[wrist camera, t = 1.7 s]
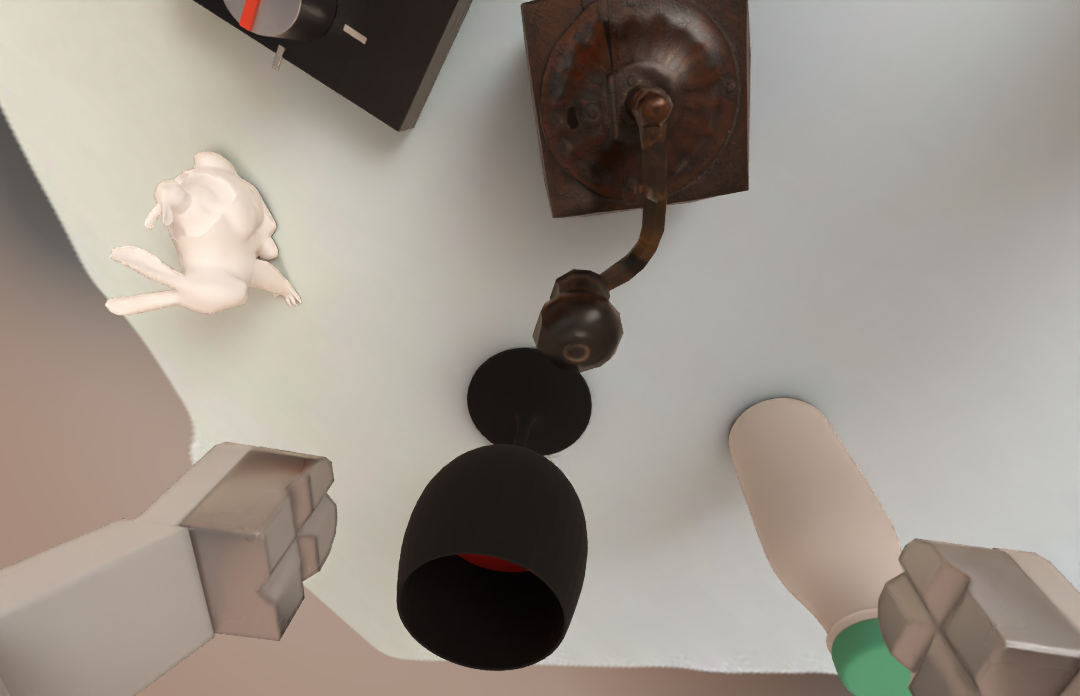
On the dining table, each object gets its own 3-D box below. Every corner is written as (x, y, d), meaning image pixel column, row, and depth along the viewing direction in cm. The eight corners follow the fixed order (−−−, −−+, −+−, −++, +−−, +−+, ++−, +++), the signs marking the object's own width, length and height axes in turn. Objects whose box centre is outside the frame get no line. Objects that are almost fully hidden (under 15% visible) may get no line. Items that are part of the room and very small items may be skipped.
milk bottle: (707, 430, 45) (775, 666, 27) (791, 376, 42) (931, 600, 24) (763, 488, 46) (862, 744, 29) (847, 440, 44) (1015, 691, 26)
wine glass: (471, 337, 43) (377, 521, 25) (602, 357, 43) (601, 559, 25) (464, 444, 48) (380, 662, 30) (582, 463, 47) (569, 696, 29)
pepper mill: (524, 19, 33) (449, -37, 17) (713, -20, 31) (828, -125, 15) (562, 264, 40) (534, 391, 24) (720, 244, 38) (807, 366, 22)
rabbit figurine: (304, 305, 43) (229, 361, 35) (217, 309, 44) (123, 364, 36) (257, 145, 38) (156, 164, 30) (160, 153, 39) (34, 174, 30)
